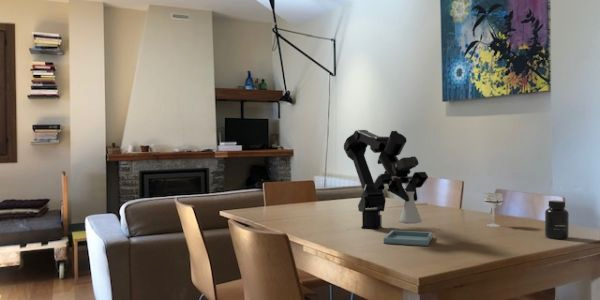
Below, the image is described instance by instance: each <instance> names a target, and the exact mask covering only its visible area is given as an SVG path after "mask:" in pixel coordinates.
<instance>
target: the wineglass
mask: <svg viewBox="0 0 600 300" xmlns="http://www.w3.org/2000/svg"><path fill="white" fill-rule="evenodd" d="M483 195H484V197H483V202H484V204H485V205H486V206H487V207H489V208H490V209H492V223H489V224H486V226H488V227H491V228H492V227H494V228H498V227H501V225H500V224H497V223H495V209H496V208H498V207H500V206H501V205H502V204H503V201H504V197H503V193H501V192H500V193H497V192H487V193H485V192H484V193H483Z"/></svg>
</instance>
